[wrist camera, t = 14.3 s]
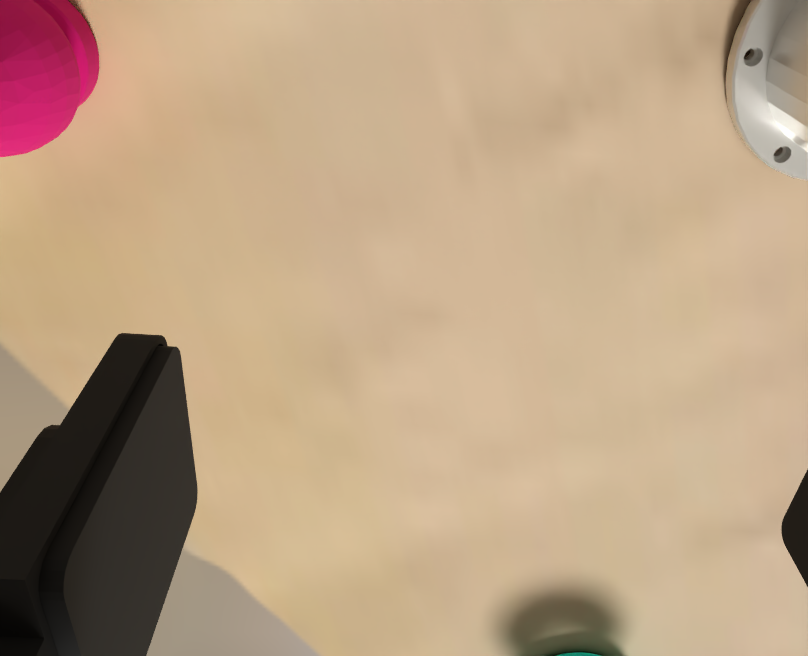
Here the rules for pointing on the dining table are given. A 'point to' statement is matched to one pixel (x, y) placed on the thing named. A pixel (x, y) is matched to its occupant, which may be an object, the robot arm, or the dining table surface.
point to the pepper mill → (42, 71)
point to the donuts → (578, 654)
